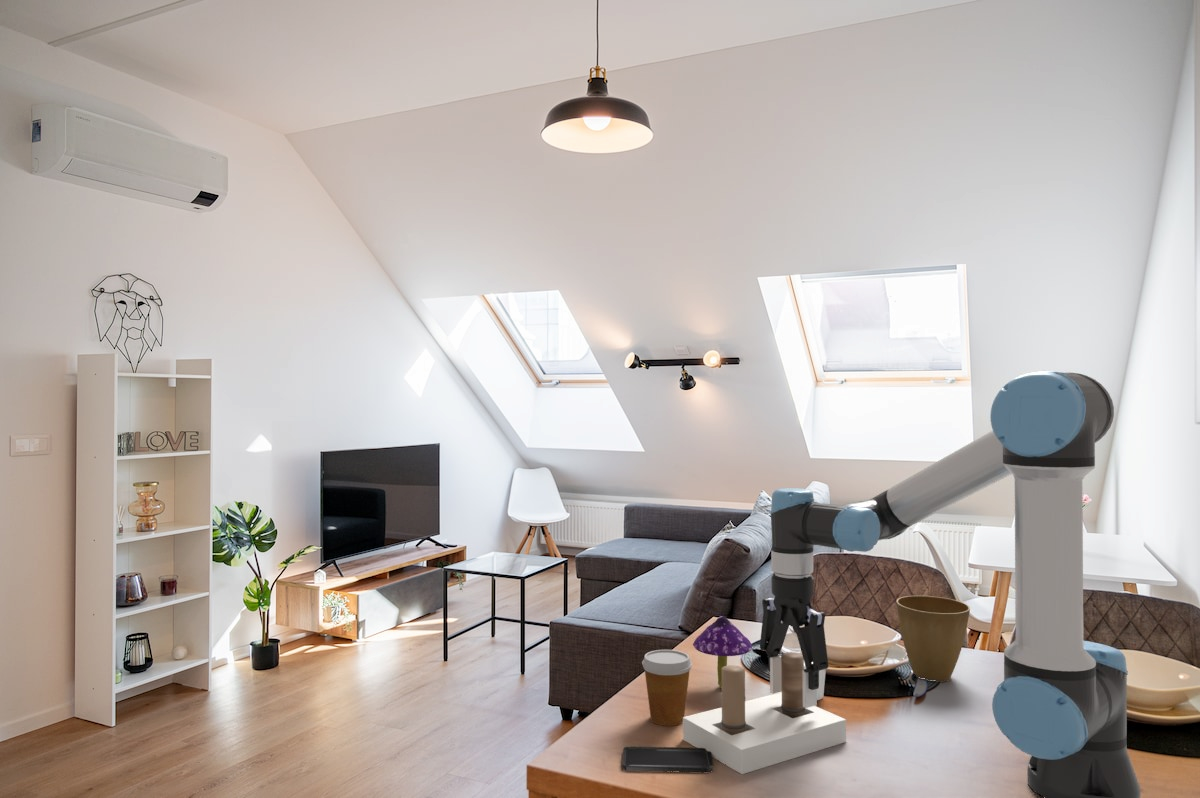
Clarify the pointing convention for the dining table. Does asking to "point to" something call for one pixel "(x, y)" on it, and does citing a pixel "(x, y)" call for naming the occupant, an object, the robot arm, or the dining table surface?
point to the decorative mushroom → (722, 642)
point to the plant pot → (932, 634)
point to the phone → (667, 759)
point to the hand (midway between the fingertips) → (792, 698)
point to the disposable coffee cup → (667, 685)
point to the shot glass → (820, 683)
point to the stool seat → (759, 728)
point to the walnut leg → (792, 684)
